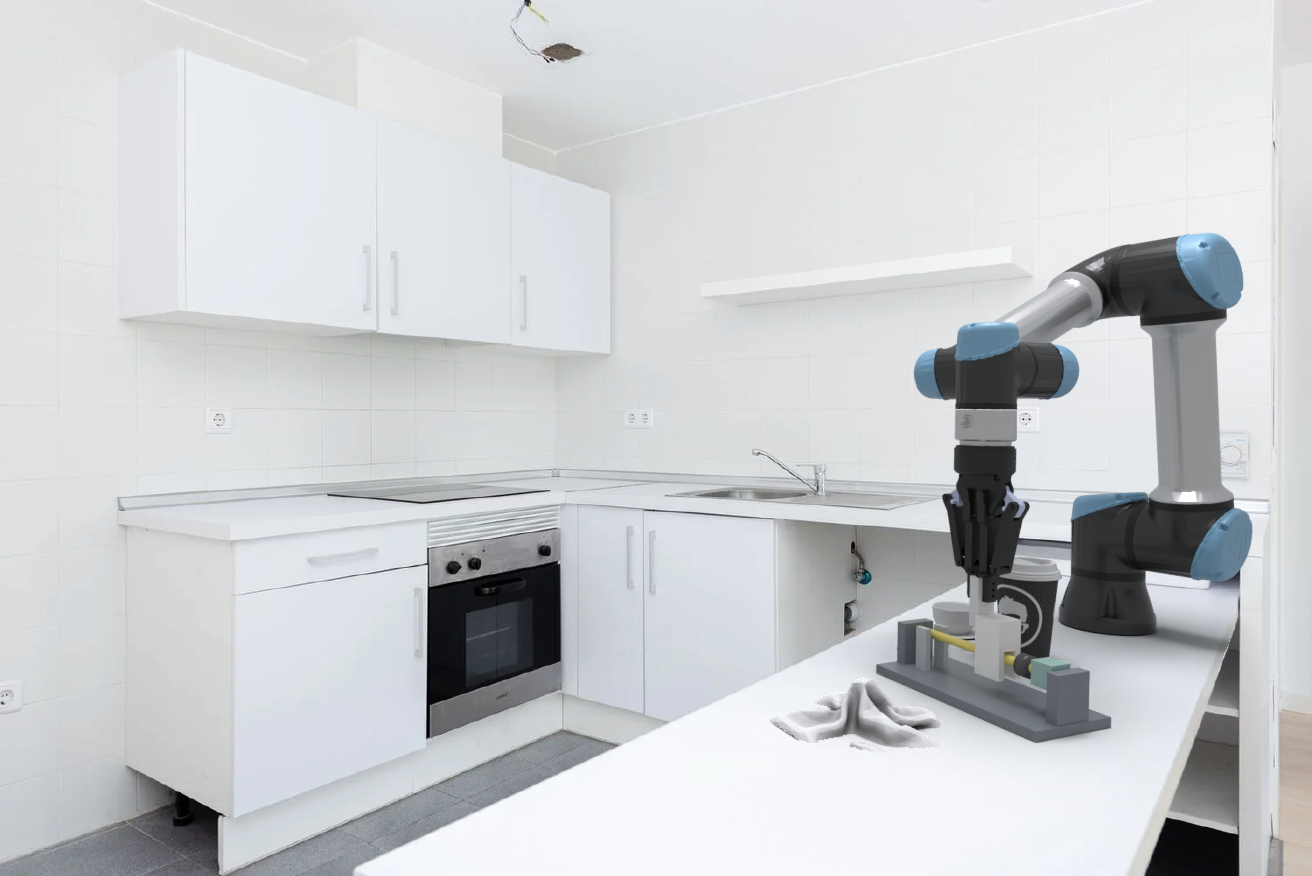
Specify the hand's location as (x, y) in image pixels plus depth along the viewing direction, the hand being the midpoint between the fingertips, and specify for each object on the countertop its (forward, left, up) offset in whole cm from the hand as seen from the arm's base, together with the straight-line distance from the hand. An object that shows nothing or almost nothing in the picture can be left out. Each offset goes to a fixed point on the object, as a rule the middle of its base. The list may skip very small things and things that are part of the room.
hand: (981, 625), depth 112 cm
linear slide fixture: (0, 0, -9) cm, 9 cm away
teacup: (-21, -27, -10) cm, 35 cm away
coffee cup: (-18, -10, -10) cm, 23 cm away
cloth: (+20, +4, -10) cm, 23 cm away
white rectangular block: (0, +3, -6) cm, 6 cm away
